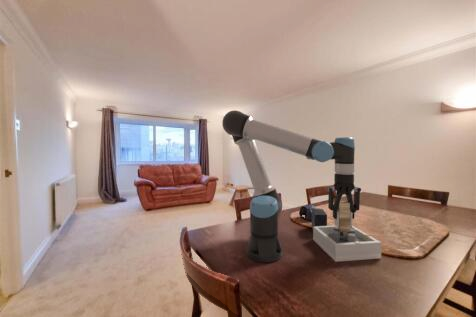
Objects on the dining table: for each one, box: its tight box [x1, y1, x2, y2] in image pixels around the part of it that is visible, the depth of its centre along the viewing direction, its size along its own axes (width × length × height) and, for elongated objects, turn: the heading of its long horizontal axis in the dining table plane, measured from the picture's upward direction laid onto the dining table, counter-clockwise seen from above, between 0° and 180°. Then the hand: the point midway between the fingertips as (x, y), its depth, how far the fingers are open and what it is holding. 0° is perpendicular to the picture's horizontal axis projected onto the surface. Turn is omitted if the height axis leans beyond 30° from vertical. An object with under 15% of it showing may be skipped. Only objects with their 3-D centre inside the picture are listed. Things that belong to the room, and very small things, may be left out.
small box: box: [311, 208, 328, 230], centre depth 108 cm, size 11×6×10 cm, turn 168°
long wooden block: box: [336, 200, 352, 239], centre depth 88 cm, size 6×6×15 cm
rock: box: [298, 203, 317, 221], centre depth 125 cm, size 11×10×10 cm
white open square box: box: [312, 224, 382, 263], centre depth 88 cm, size 19×19×7 cm
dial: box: [328, 226, 362, 243], centre depth 88 cm, size 13×14×6 cm
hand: (343, 225), depth 88 cm, fingers closed on long wooden block, 5 cm apart
